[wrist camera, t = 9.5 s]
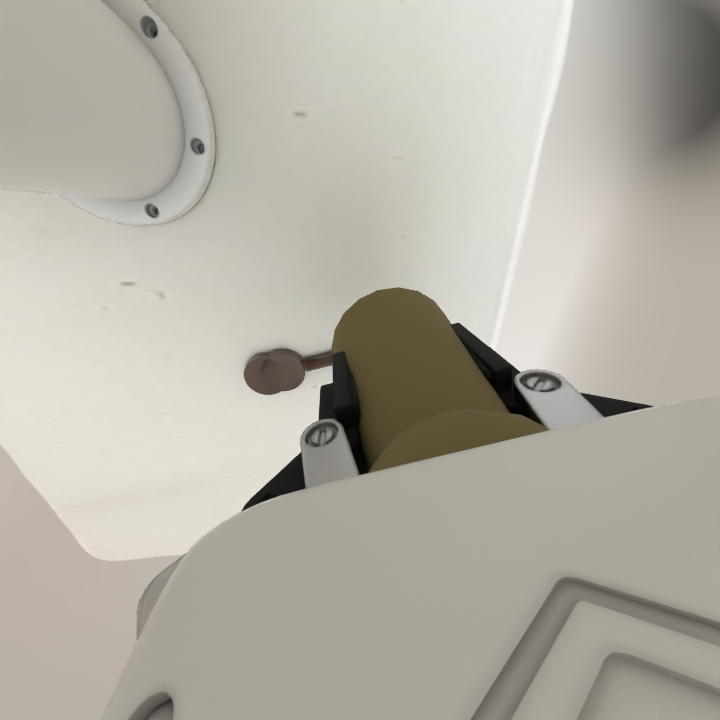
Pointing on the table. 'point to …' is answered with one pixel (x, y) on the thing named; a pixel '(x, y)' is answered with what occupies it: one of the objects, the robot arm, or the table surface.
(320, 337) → the table surface
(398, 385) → the cork
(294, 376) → the wooden spoon
